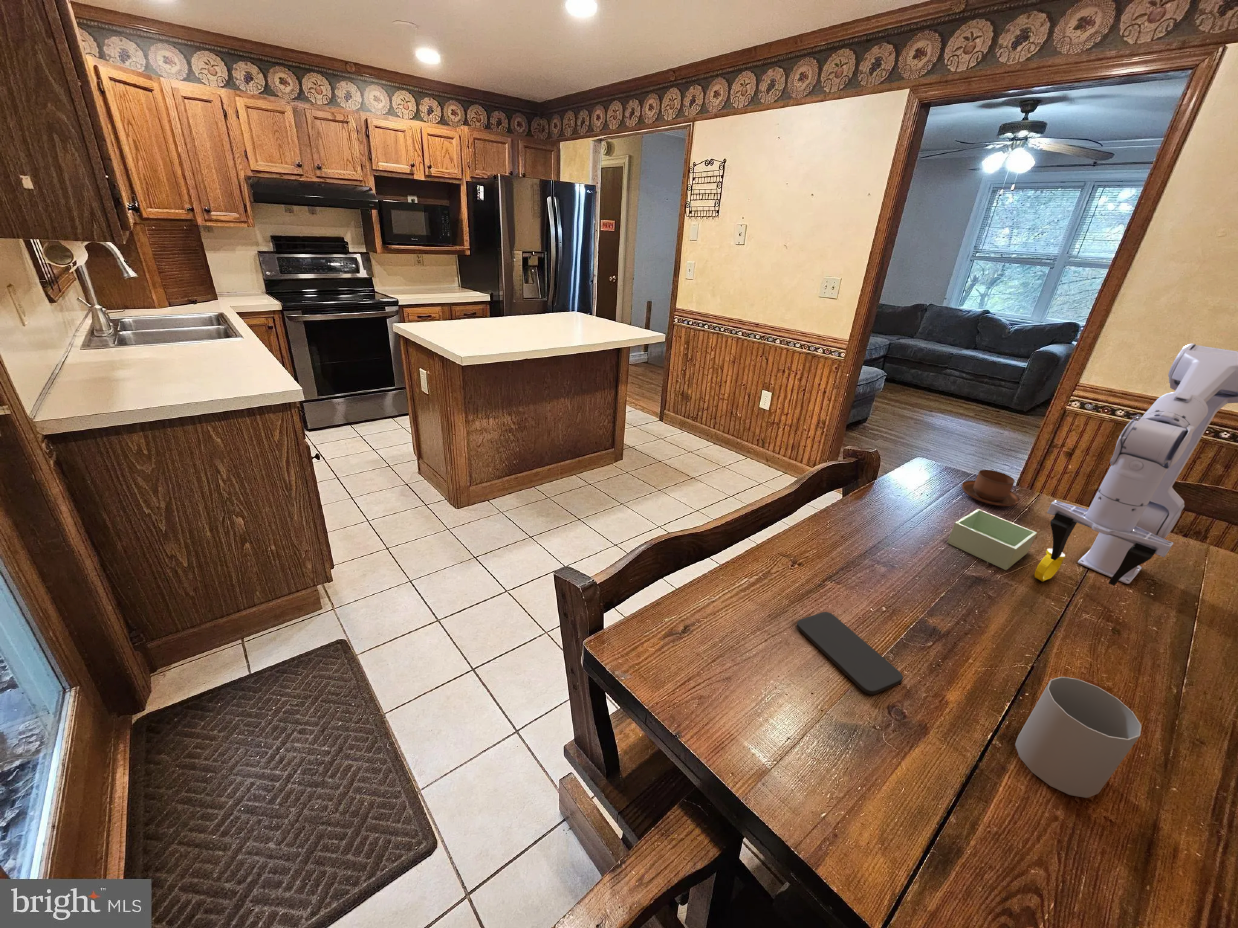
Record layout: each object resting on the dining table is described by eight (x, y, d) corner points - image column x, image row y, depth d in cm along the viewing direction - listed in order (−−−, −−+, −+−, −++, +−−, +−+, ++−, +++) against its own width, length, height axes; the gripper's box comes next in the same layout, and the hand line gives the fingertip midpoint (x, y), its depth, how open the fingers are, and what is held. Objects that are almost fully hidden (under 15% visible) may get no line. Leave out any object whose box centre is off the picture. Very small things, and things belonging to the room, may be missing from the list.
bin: (970, 528, 113) (978, 508, 111) (1027, 553, 105) (1037, 532, 103) (946, 542, 107) (954, 522, 105) (1005, 570, 99) (1015, 549, 97)
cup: (999, 733, 66) (1030, 677, 62) (1057, 730, 67) (1091, 675, 63) (1054, 799, 59) (1094, 741, 54) (1119, 795, 60) (1163, 738, 55)
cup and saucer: (961, 482, 134) (969, 461, 132) (1016, 497, 128) (1026, 475, 126) (957, 499, 125) (966, 477, 123) (1016, 516, 119) (1027, 493, 117)
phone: (828, 610, 85) (907, 677, 73) (827, 614, 85) (905, 681, 73) (793, 621, 82) (869, 693, 70) (792, 625, 82) (868, 697, 70)
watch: (1042, 586, 95) (1055, 560, 93) (1026, 577, 97) (1038, 552, 95) (1059, 578, 98) (1072, 552, 95) (1043, 570, 100) (1055, 544, 97)
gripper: (1055, 483, 81) (1022, 554, 87) (1182, 526, 70) (1134, 604, 76) (1071, 473, 85) (1038, 542, 90) (1193, 513, 74) (1146, 587, 80)
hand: (1083, 569), depth 83 cm, fingers open, 7 cm apart
